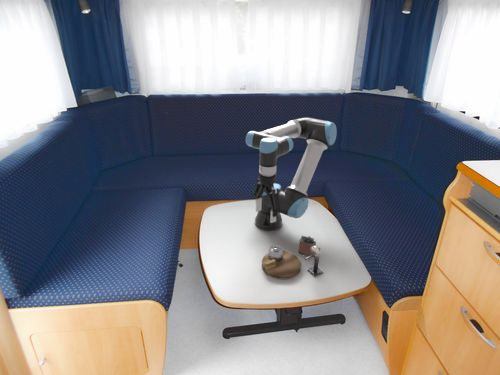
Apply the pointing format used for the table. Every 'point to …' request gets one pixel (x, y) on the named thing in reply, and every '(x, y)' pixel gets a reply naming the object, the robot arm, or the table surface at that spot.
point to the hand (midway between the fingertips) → (265, 216)
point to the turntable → (282, 266)
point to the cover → (275, 253)
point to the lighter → (306, 245)
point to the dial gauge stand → (315, 261)
